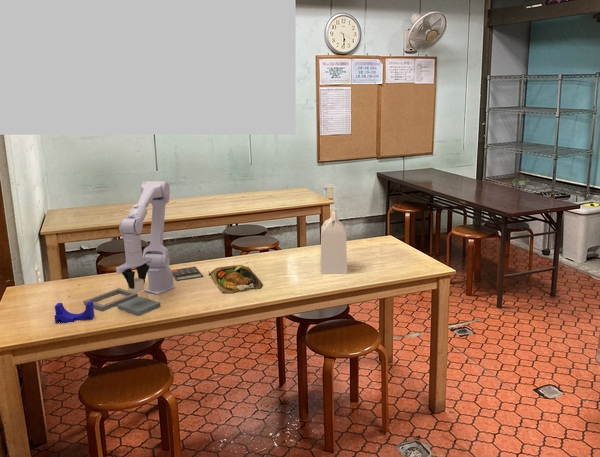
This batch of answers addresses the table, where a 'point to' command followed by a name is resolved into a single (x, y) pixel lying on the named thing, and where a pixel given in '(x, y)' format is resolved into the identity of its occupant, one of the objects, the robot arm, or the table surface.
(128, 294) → the pocket frame
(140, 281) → the cream block
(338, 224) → the milk
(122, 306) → the slate pad
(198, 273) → the calculator
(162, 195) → the robot arm
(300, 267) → the table surface
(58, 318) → the cable clip
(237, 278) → the prepared meal
